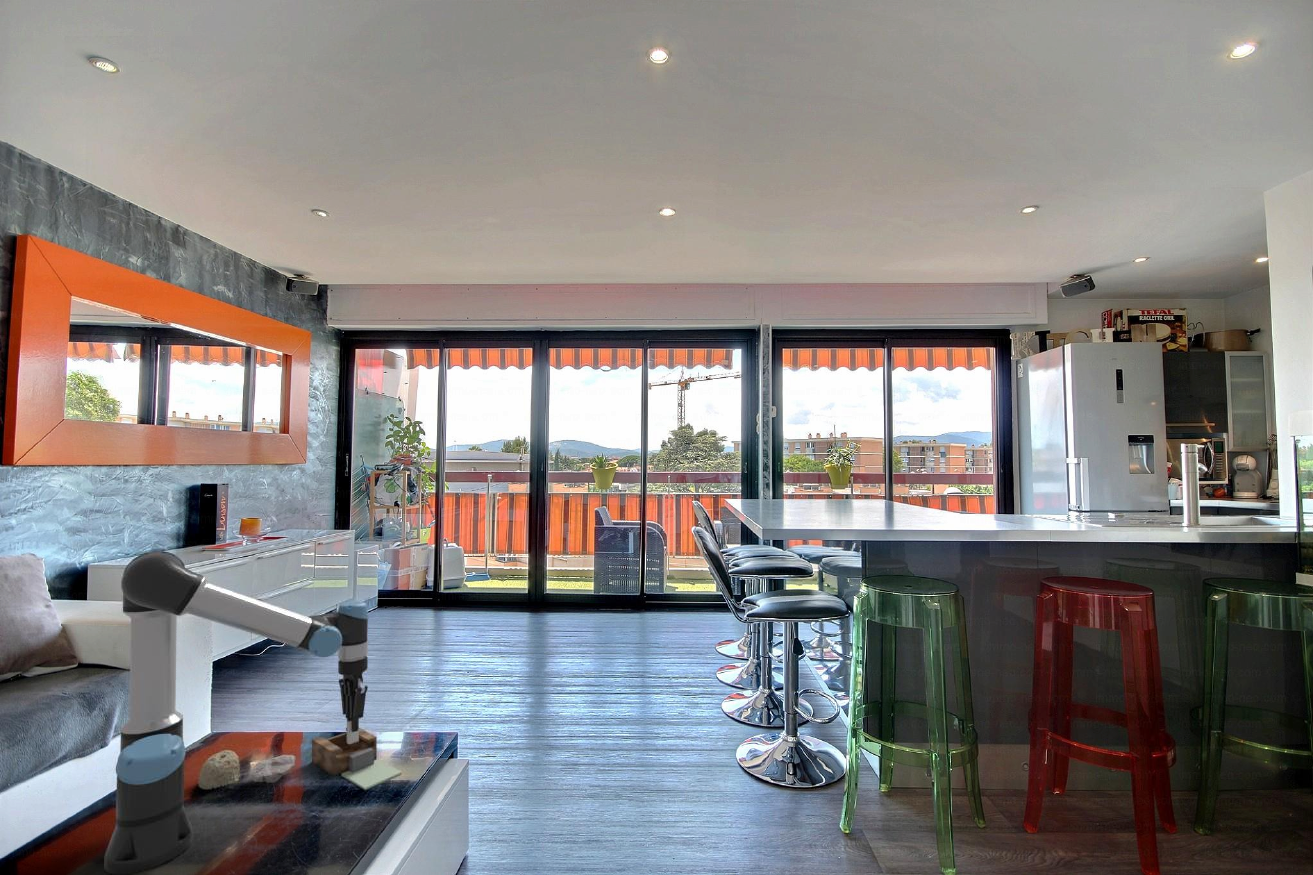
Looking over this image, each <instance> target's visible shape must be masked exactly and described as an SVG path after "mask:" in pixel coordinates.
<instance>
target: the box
mask: <svg viewBox="0 0 1313 875" xmlns="http://www.w3.org/2000/svg"><path fill="white" fill-rule="evenodd" d="M377 740H378V739H377V736H376V735H373V734H372V733H370V732H368V731H366V730H364V729H362V728H360V727H359V741H358V742H355V743H352V744H347V727H345V732H344V733H341V734H337V735H335V736H332V737H329V738H325V737H323V736H317V737H314V738H311V762H312V763H313V764H315V765H316V766H317V767H319V768H320V769H321V770H323V771H324V772H326V773H327V774H329V775H330V776H333V777H335V776H338V775H340V774H342V773H344V772H347V771H349V756H350V755H353V754H355V753H358V752H360V751H363V750H366V749H368V748H372V749H374V760H376V759H377V758H378V757H377V756H378V755H377V752H378V751H377V749H378V748H377V747H378V746H377V744H378V742H377Z"/></svg>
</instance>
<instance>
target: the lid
mask: <svg viewBox="0 0 1313 875" xmlns="http://www.w3.org/2000/svg"><path fill="white" fill-rule="evenodd" d="M402 774H403V772H402V771H401V770H399V769H397V768H396V767H393V766H392V765H389V764H387V763H386V762H384V761H382V760H380V759H376V760H374V749H372V748H368V749H366V750H363V751H360V752H358V753H355V754H353V755H350V756H349V771H346V772H344V773H341V777H343V778H345V779H346V780H347V781H349V782H351V783H353V784H354V785H356V786H358V787H359V788H361V789H363V790H364V791H367V790H369V789H372V788H374V787H375V786H378V785H380V784H382V783H384V782H387V781H389V780H391V779H394V778H396V777H398V776H401V775H402Z"/></svg>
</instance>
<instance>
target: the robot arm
mask: <svg viewBox="0 0 1313 875" xmlns="http://www.w3.org/2000/svg"><path fill="white" fill-rule="evenodd" d="M120 587H121V590H122V613H123V614H125V616H127V617H129V618H130V659H129V660H130V661H129V664H130V667H129V715H128V716H129V718H128V720H127V722H126V723H125V724H124V725H122V727H121V728H120V746H119V748H120V749H119V752H120V753H119V755H118V758H117V761H116V765H115V773H116V793H115V794H116V795H115V796H116V798H115V800H116V801H115V802H116V803H115V806H116V807H115V827H114V830H113V833H112V835H111V838H110V840H109V843H108V846H107V848H106V851H105V854H104V857H103V860H104V861H103V862H104V863H103V869H104V871H106V872H107V873H109V874H112V875H127V874H128V875H129V874H134V873H138V872H141V871H146V870H149V869H152V868H154V867H155V868H156V867H158V866H160V865H162V864H165V863H167V862H168V861H170V860H172V859H175V858H176V857H177V856H179V855H180V854H182V853H183V852H185V851H186V850H187V849H188V848H189V847H190V845H191V844H192V843H193V841H194V840H193V838H194V828H193V825H192V823H191V820H190V819H189V816H188V814H187V811H186V809H185V807H184V806H185V804H184V801H185V800H184V799H185V756H186V746H185V742H184V715H183V713H181V712H179V711H177V710H176V699H177V698H176V696H177V695H176V690H177V689H176V687H177V686H176V685H177V684H176V683H177V669H176V668H177V616H179V617H181V616H184V615H186V614H189V615H192V616H196V617H199V618H201V619H205V620H209V621H211V622H214V623H217V624H221V625H224V626H228V627H231V628H234V629H236V630H240V631H243V632H247V633H250V634H253V635H256V636H260V637H263V638H266V639H269V640H273V641H276V642H279V643H282V644H285V645H288V646H292V647H294V648H297V649H300V650H303V651H306V652H309V653H311V654H312V655H313V656H316V657H318V658H328V657H331V656H334V654H336V653H337V659H339V660H338V662H337V663H338V666H337V669H338V671H337V672H338V674H339V675H341V676H342V678H339V679H338V684H339V688H340V699H341V711H342V715H343V716H345V719H346V728H347V731H346V732H347V744H352V743H355V742H358V741H359V728H360V719H361V718H364V714H365V705H366V696H367V692H368V688H369V686H368V685H367V684H366V685H364V678H363V673H364V672H366V671H367V670H368V668H369V667H368V662H369V661H368V659H369V658H368V656H367V655H368V646H369V645H370V644H369V642H368V629H369V625H368V623H369V622H368V621H369V616H368V604H366V603H365V602H364V601H360V600H359V601H357V600H356V601H348V602H344V603H341V604H339V606H338V609H337V611H336V612H331V613H326V614H325V613H324V614H315V615H310V616H309V615H308V616H306V615H303V614H301V613H297V612H294V611H291V610H289V609H286V608H283V607H280V606H277V605H274V604H272V603H269V602H265V601H262V600H259V599H257V598H254V597H250V596H248V595H245V594H243V593H239V592H237V591H234V590H230V589H228V588H225V587H222V586H219V585H217V584H213V583H211V582H208V581H207V578H206V576H205V575H202V574H199V573H196V572H194V571H192V570H190V569H188V568H187V567H186V566H185V563H184V562H183V560H182V559H181V558H180V557H179V556H178V555H176V554H174V553H172V552H169V551H164V550H161V551H160V550H153V551H148V552H147V551H146V552H144V553H142V554H141V553H140V555H138V556H136V557H134V558H133V559H132V560H131V561H130V562H129V563H127V565H126V567H125V568H124V570H123V574H122V578H121V581H120Z"/></svg>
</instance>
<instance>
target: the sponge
mask: <svg viewBox="0 0 1313 875" xmlns="http://www.w3.org/2000/svg"><path fill="white" fill-rule="evenodd" d="M200 768H201V769H200V771H199V772H198V776H199V777H198V787H199V788H200V789H203V790H209V789H210V790H213V789H212V788H214V789H217V787H218V788H221V787H220V786H222V787H225V786H228V785H227V784H229V785H231V784H233V783H236V782H237V780H238V779H239V778H240V760H239V755H237V753H236V752H235V751H232V750H230V749H226V750H222V751H220V752H217V753H215V754H212V755H211V756H210V757H209V758H207V759H206V760H205V761H204V763H203V764H202V765H201V767H200ZM236 779H237V780H236ZM230 783H231V784H230ZM224 785H225V786H224Z"/></svg>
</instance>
